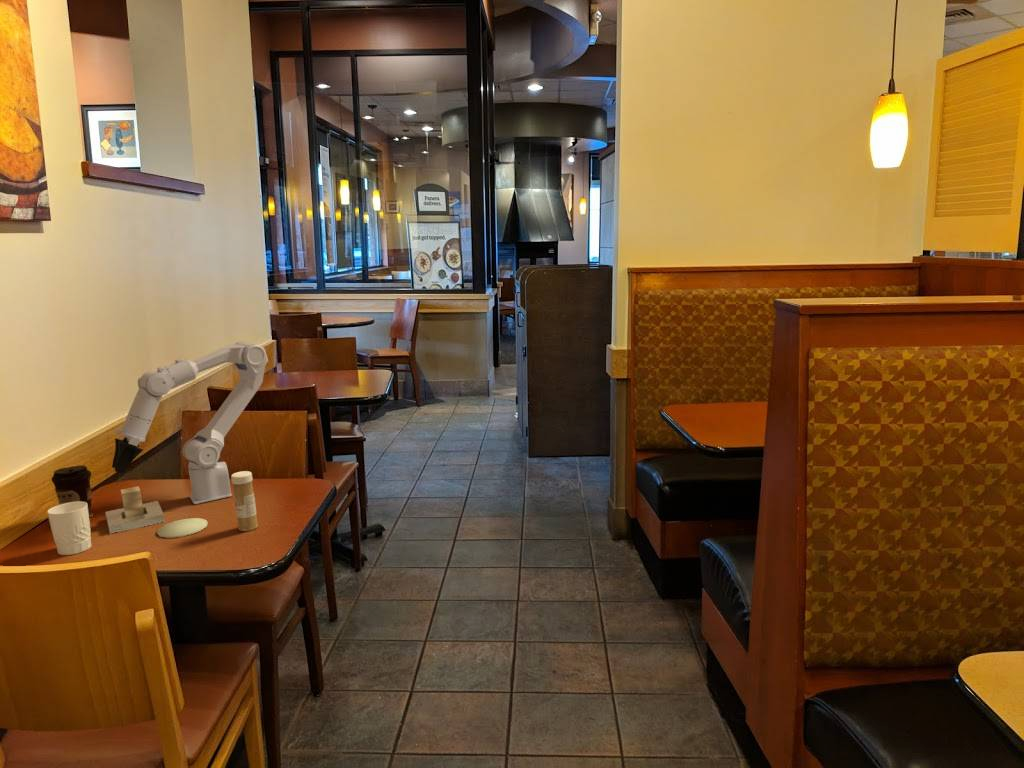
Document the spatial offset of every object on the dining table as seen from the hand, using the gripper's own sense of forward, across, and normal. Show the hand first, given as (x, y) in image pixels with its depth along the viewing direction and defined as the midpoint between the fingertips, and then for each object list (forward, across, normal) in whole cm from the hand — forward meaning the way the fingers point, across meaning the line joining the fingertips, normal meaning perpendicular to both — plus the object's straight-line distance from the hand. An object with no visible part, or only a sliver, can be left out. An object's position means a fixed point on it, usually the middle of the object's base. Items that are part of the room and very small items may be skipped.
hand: (117, 470), depth 186 cm
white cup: (+18, +11, -3) cm, 21 cm away
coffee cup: (+15, -12, -3) cm, 20 cm away
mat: (+8, +14, +16) cm, 23 cm away
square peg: (+10, 0, +8) cm, 13 cm away
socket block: (+10, 0, +8) cm, 13 cm away
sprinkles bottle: (+2, +25, +28) cm, 37 cm away
